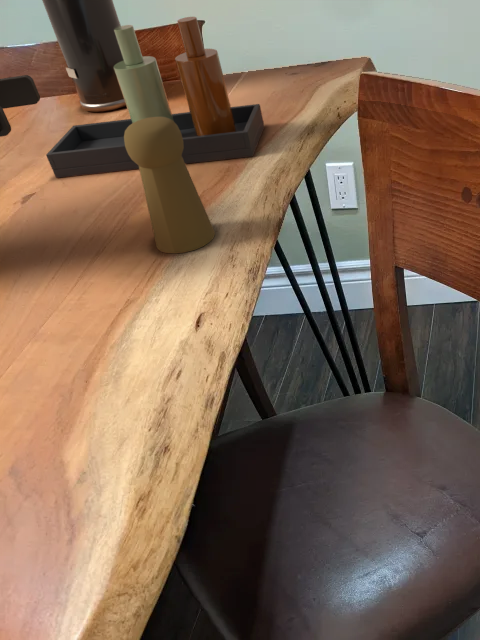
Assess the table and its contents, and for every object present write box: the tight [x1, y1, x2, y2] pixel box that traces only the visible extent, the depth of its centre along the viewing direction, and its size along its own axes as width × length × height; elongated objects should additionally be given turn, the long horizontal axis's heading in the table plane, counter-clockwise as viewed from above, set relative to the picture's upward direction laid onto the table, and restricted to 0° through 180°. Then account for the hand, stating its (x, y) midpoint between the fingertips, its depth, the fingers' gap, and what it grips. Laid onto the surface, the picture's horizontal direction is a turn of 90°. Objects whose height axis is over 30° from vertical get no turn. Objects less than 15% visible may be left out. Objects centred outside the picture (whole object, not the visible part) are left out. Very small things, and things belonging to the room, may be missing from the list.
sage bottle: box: [113, 24, 174, 123], centre depth 83 cm, size 5×5×12 cm
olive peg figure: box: [124, 117, 216, 254], centre depth 66 cm, size 6×6×11 cm
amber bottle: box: [174, 16, 237, 136], centre depth 82 cm, size 5×5×12 cm
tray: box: [45, 103, 265, 179], centre depth 87 cm, size 25×10×3 cm, turn 89°
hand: (21, 103), depth 60 cm, fingers open, 8 cm apart
